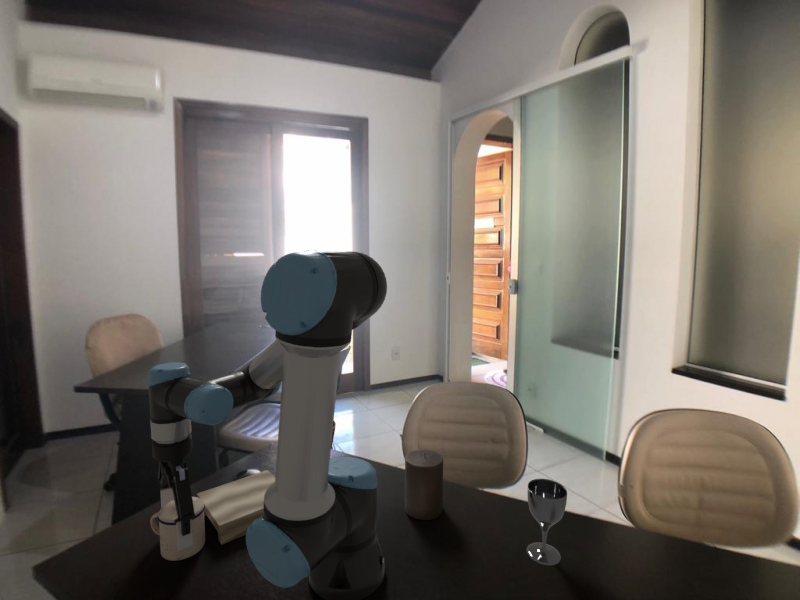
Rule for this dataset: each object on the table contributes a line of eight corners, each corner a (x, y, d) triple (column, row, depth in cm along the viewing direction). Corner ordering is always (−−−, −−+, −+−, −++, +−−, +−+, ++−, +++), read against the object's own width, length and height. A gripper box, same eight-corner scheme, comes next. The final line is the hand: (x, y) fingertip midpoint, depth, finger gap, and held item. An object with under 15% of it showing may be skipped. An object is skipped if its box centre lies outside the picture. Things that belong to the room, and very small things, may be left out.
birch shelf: (295, 514, 105) (295, 495, 105) (219, 547, 94) (219, 525, 93) (267, 487, 117) (267, 469, 117) (197, 512, 106) (196, 493, 105)
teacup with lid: (214, 536, 97) (213, 487, 96) (189, 565, 88) (186, 512, 87) (166, 530, 99) (164, 482, 98) (136, 557, 90) (133, 505, 89)
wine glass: (537, 570, 88) (541, 501, 87) (517, 544, 96) (520, 481, 94) (571, 563, 90) (575, 496, 89) (548, 538, 98) (552, 476, 96)
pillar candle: (449, 515, 106) (451, 457, 105) (414, 524, 102) (415, 464, 101) (430, 495, 115) (432, 441, 114) (397, 503, 111) (398, 447, 109)
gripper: (209, 452, 84) (213, 553, 86) (176, 414, 102) (179, 498, 105) (167, 464, 79) (172, 571, 81) (139, 422, 98) (144, 510, 100)
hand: (176, 530), depth 93 cm, fingers open, 13 cm apart
